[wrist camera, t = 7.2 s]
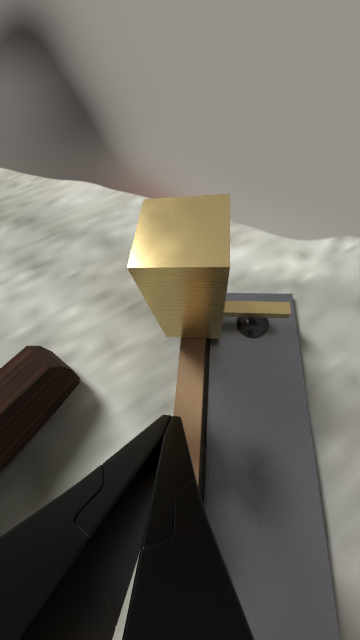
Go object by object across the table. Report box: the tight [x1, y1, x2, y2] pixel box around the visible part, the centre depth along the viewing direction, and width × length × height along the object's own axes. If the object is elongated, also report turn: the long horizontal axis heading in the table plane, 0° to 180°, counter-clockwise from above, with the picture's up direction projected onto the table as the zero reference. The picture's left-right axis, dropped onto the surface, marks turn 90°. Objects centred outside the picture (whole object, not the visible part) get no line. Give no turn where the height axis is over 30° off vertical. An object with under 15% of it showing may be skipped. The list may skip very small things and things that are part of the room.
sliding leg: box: [127, 194, 291, 339], centre depth 14 cm, size 4×9×10 cm, turn 85°
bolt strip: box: [204, 293, 340, 640], centre depth 14 cm, size 27×7×1 cm, turn 174°
